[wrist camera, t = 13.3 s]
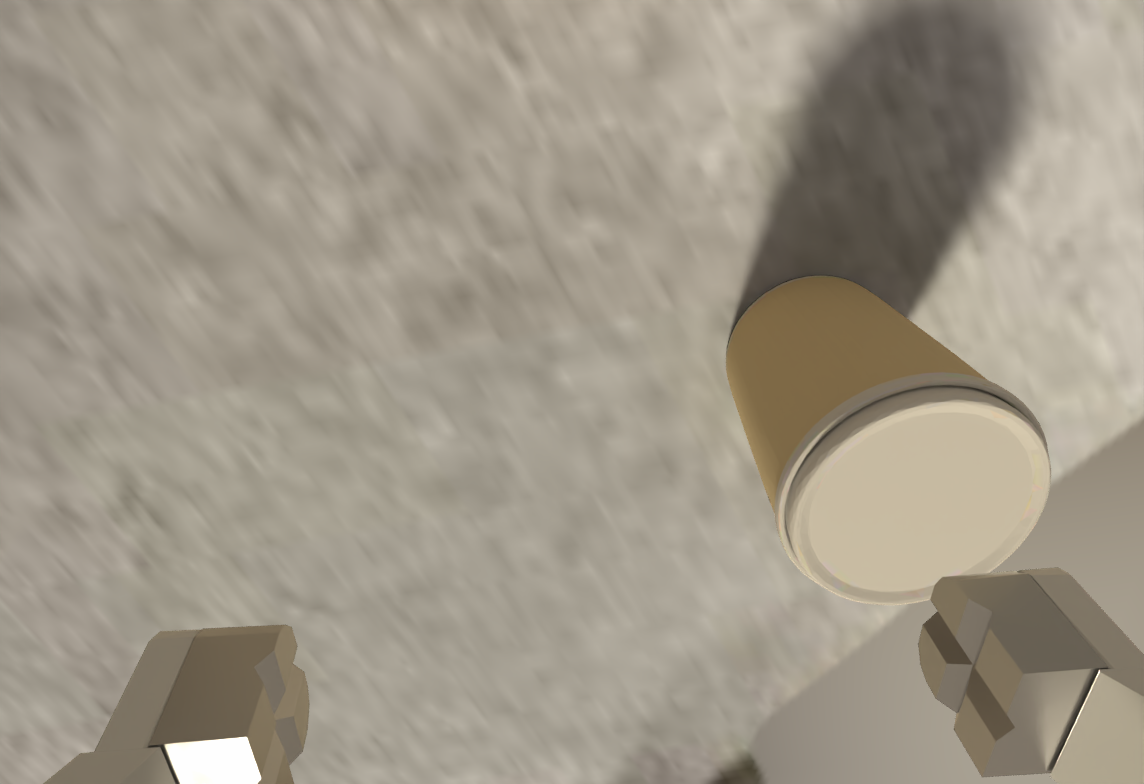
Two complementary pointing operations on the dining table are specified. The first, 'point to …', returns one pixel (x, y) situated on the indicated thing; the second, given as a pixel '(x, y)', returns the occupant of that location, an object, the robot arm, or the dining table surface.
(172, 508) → the dining table surface
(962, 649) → the robot arm
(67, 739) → the dining table surface
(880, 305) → the coffee cup
